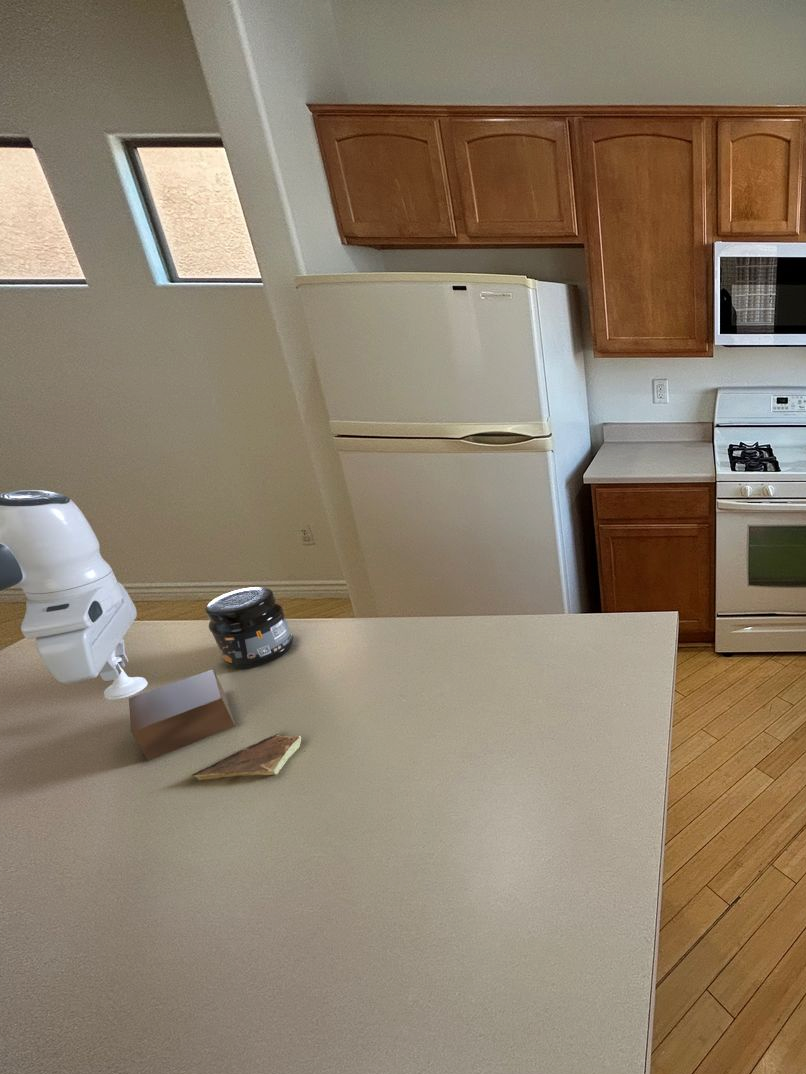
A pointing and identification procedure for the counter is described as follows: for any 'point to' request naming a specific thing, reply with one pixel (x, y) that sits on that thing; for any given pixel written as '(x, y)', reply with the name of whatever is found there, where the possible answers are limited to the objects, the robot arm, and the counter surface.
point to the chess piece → (124, 683)
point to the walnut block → (179, 714)
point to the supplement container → (249, 627)
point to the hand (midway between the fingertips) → (116, 671)
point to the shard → (254, 759)
